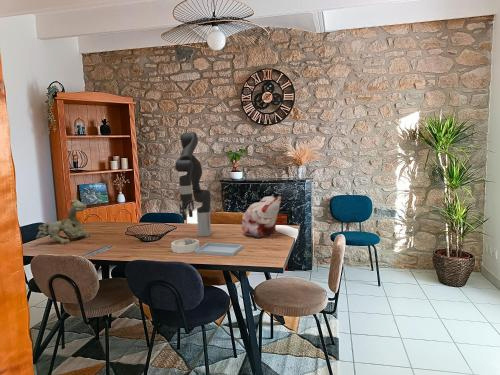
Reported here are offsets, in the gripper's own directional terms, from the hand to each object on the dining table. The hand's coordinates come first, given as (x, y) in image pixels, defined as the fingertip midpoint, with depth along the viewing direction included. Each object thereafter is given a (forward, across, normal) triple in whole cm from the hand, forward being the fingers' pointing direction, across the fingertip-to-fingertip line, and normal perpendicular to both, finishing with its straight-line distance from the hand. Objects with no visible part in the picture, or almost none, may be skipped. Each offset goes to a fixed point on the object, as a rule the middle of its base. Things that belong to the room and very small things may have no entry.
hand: (187, 218), depth 227 cm
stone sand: (+19, +5, -3) cm, 20 cm away
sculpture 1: (+20, 0, -97) cm, 99 cm away
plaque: (+20, +20, -55) cm, 62 cm away
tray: (+20, 0, +20) cm, 28 cm away
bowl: (+20, +2, -2) cm, 20 cm away
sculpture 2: (+22, -48, +34) cm, 63 cm away
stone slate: (+19, 0, -1) cm, 19 cm away
